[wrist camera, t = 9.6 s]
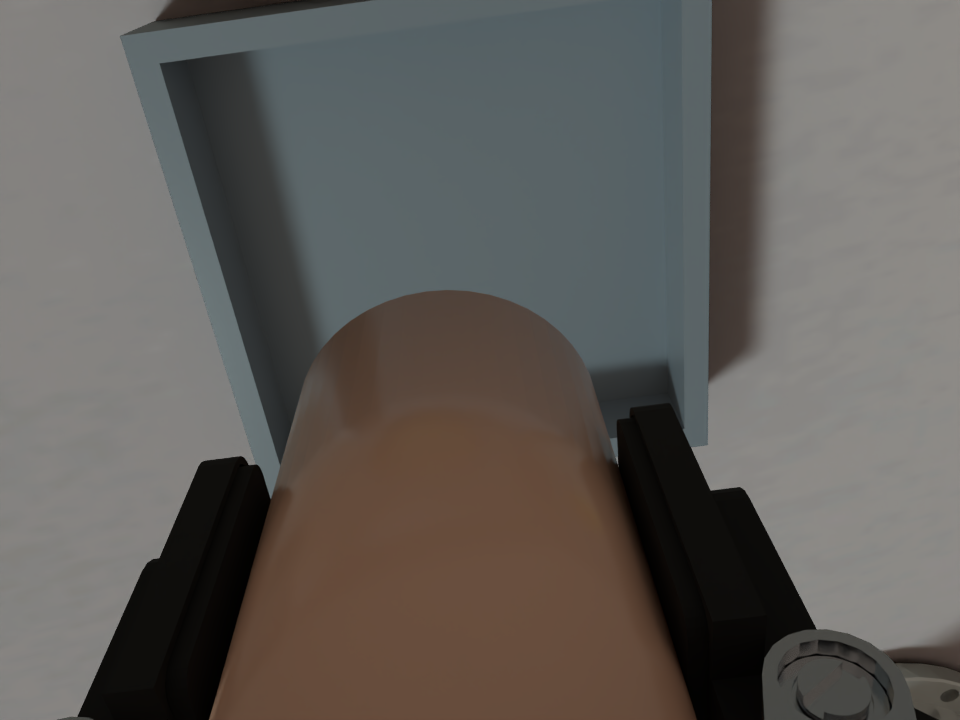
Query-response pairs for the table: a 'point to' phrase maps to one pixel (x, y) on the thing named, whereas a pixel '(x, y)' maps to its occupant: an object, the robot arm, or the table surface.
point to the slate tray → (442, 180)
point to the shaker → (450, 536)
